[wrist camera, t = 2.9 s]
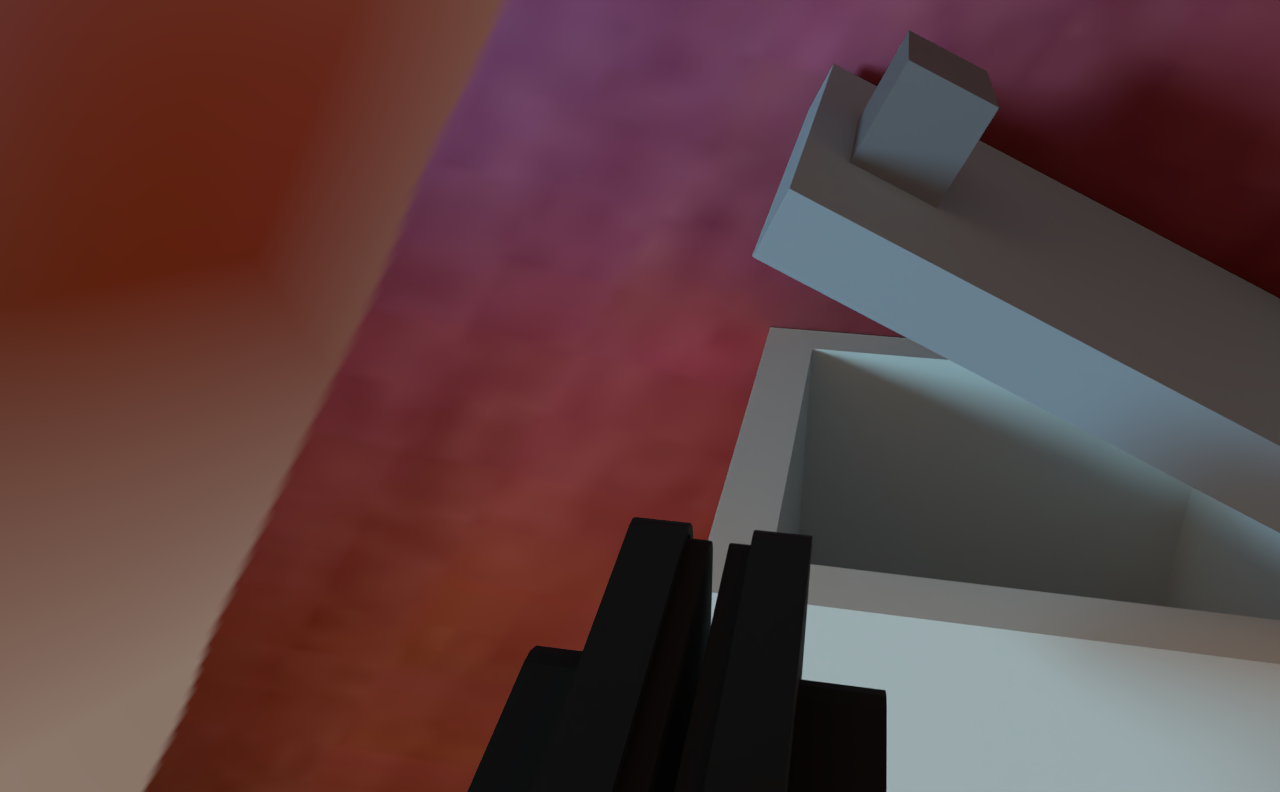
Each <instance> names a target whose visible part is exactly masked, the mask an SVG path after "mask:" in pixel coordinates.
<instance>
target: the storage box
mask: <svg viewBox="0 0 1280 792" xmlns="http://www.w3.org/2000/svg"><path fill="white" fill-rule="evenodd" d="M754 530H762V531H771V532H781V533H790V534H800V535H809V536H812V552H811V565H810V578H809V591H808V604H807V617H806V630H805V643H804V656H803V669H802V680H810V681H818V682H826V683H833V684H841V685H849V686H857V687H865V688H873V689H881V690H886V696H887V792H1280V533H1279V532H1277V531H1275V530H1273V529H1271V528H1269V527H1267V526H1265V525H1263V524H1262V523H1260V522H1258V521H1256V520H1254V519H1252V518H1250V517H1248V516H1246V515H1244V514H1242V513H1241V512H1239V511H1237V510H1235V509H1233V508H1231V507H1229V506H1227V505H1225V504H1223V503H1221V502H1220V501H1218V500H1216V499H1214V498H1212V497H1210V496H1208V495H1206V494H1204V493H1202V492H1200V491H1199V490H1197V489H1195V488H1193V487H1191V486H1189V485H1187V484H1185V483H1183V482H1181V481H1179V480H1178V479H1176V478H1174V477H1172V476H1170V475H1168V474H1166V473H1164V472H1162V471H1160V470H1158V469H1157V468H1155V467H1153V466H1151V465H1149V464H1147V463H1145V462H1143V461H1141V460H1139V459H1137V458H1136V457H1134V456H1132V455H1130V454H1128V453H1126V452H1124V451H1122V450H1120V449H1118V448H1116V447H1115V446H1113V445H1111V444H1109V443H1107V442H1105V441H1103V440H1101V439H1099V438H1097V437H1095V436H1094V435H1092V434H1090V433H1088V432H1086V431H1084V430H1082V429H1080V428H1078V427H1076V426H1074V425H1073V424H1071V423H1069V422H1067V421H1065V420H1063V419H1061V418H1059V417H1057V416H1055V415H1053V414H1052V413H1050V412H1048V411H1046V410H1044V409H1042V408H1040V407H1038V406H1036V405H1034V404H1032V403H1031V402H1029V401H1027V400H1025V399H1023V398H1021V397H1019V396H1017V395H1015V394H1013V393H1011V392H1010V391H1008V390H1006V389H1004V388H1002V387H1000V386H998V385H996V384H994V383H992V382H990V381H989V380H987V379H985V378H983V377H981V376H979V375H977V374H975V373H973V372H971V371H969V370H968V369H966V368H964V367H962V366H960V365H958V364H956V363H954V362H952V361H950V360H948V359H947V358H945V357H943V356H941V355H939V354H937V353H935V352H933V351H931V350H929V349H927V348H926V347H924V346H922V345H920V344H918V343H916V342H914V341H912V340H910V339H908V338H900V337H887V336H875V335H862V334H850V333H837V332H825V331H812V330H800V329H787V328H774V327H770V330H769V334H768V337H767V340H766V344H765V347H764V351H763V354H762V358H761V361H760V364H759V368H758V371H757V375H756V378H755V381H754V385H753V388H752V392H751V395H750V399H749V402H748V405H747V409H746V412H745V416H744V419H743V423H742V426H741V429H740V433H739V436H738V440H737V443H736V446H735V450H734V453H733V457H732V460H731V464H730V467H729V470H728V474H727V477H726V481H725V484H724V488H723V491H722V494H721V498H720V501H719V505H718V508H717V511H716V515H715V518H714V522H713V525H712V529H711V532H710V535H709V539H708V540H709V541H712V543H713V572H712V606H711V623H712V618H713V614H714V609H715V605H716V600H717V596H718V591H719V587H720V582H721V578H722V573H723V569H724V564H725V560H726V555H727V551H728V547H729V544H730V543H737V544H746V545H751V541H752V536H753V532H754Z"/></svg>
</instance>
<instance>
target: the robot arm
mask: <svg viewBox="0 0 1280 792" xmlns="http://www.w3.org/2000/svg"><path fill="white" fill-rule="evenodd" d="M811 552H812V536H809V535H800V534H790V533H781V532H771V531H762V530H754V532H753V536H752V541H751V545H746V544H737V543H730V544H729V547H728V551H727V555H726V560H725V564H724V569H723V573H722V578H721V582H720V587H719V591H718V596H717V600H716V605H715V609H714V614H713V618H712V623H711V606H712V572H713V543H712V541H709V540H699V539H693V529H692V525H691V523H685V522H676V521H666V520H656V519H647V518H637V517H635V518H633V519H632V521H631V523H630V525H629V528H628V531H627V533H626V536H625V539H624V541H623V544H622V547H621V549H620V552H619V555H618V558H617V560H616V563H615V566H614V568H613V571H612V574H611V576H610V579H609V582H608V585H607V587H606V590H605V593H604V595H603V598H602V601H601V603H600V606H599V609H598V612H597V614H596V617H595V620H594V622H593V625H592V628H591V631H590V633H589V636H588V639H587V641H586V644H585V647H584V649H583V652H582V651H574V650H566V649H558V648H551V647H543V646H535V647H534V648H533V649H532V650H530V652H529V654H528V656H527V658H526V659H525V661H524V663H523V666H522V668H521V670H520V673H519V675H518V677H517V679H516V682H515V684H514V686H513V689H512V691H511V693H510V696H509V698H508V700H507V702H506V705H505V707H504V709H503V712H502V714H501V716H500V718H499V721H498V723H497V725H496V728H495V730H494V732H493V735H492V737H491V739H490V741H489V744H488V746H487V748H486V751H485V753H484V755H483V758H482V760H481V762H480V764H479V767H478V769H477V771H476V774H475V776H474V778H473V781H472V783H471V785H470V787H469V790H468V792H887V696H886V690H881V689H873V688H865V687H857V686H849V685H841V684H833V683H826V682H818V681H810V680H802V669H803V656H804V643H805V630H806V617H807V604H808V591H809V578H810V565H811Z"/></svg>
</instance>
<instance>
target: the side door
mask: <svg viewBox="0 0 1280 792" xmlns="http://www.w3.org/2000/svg"><path fill="white" fill-rule="evenodd" d="M998 109H999V106H998V103H997V100H996V97H995V94H994V91H993V88H992V85H991V82H990V79H989V76H988V73H987V71H985V70H983V69H981V68H979V67H978V66H976V65H974V64H972V63H970V62H968V61H966V60H964V59H962V58H961V57H959V56H957V55H955V54H953V53H951V52H949V51H947V50H945V49H943V48H942V47H940V46H938V45H936V44H934V43H932V42H930V41H928V40H926V39H925V38H923V37H921V36H919V35H917V34H915V33H913V32H911V31H908V33H907V35H906V36H905V38H904V40H903V42H902V43H901V45H900V47H899V49H898V51H897V52H896V54H895V56H894V58H893V59H892V61H891V63H890V65H889V67H888V68H887V70H886V72H885V74H884V75H883V77H882V79H881V81H880V82H879V84H878V86H875V85H873V84H872V83H870V82H868V81H866V80H864V79H862V78H860V77H858V76H856V75H854V74H853V73H851V72H849V71H847V70H845V69H843V68H841V67H839V66H837V65H835V64H833V66H832V68H831V70H830V71H829V73H828V75H827V77H826V79H825V81H824V83H823V84H822V86H821V88H820V90H819V92H818V94H817V96H816V97H815V99H814V101H813V103H812V105H811V107H810V109H809V111H808V113H807V116H806V118H805V121H804V124H803V126H802V129H801V131H800V134H799V136H798V139H797V142H796V144H795V147H794V149H793V152H792V155H791V157H790V160H789V162H788V165H787V167H786V170H785V173H784V175H783V178H782V180H781V183H780V186H779V188H778V191H777V193H776V196H775V198H774V201H773V204H772V206H771V209H770V211H769V214H768V217H767V219H766V222H765V224H764V227H763V229H762V232H761V235H760V237H759V240H758V242H757V245H756V248H755V250H754V253H753V255H752V257H754V258H756V259H758V260H759V261H761V262H763V263H765V264H767V265H769V266H771V267H773V268H775V269H777V270H779V271H780V272H782V273H784V274H786V275H788V276H790V277H792V278H794V279H796V280H798V281H800V282H801V283H803V284H805V285H807V286H809V287H811V288H813V289H815V290H817V291H819V292H821V293H822V294H824V295H826V296H828V297H830V298H832V299H834V300H836V301H838V302H840V303H842V304H843V305H845V306H847V307H849V308H851V309H853V310H855V311H857V312H859V313H861V314H863V315H864V316H866V317H868V318H870V319H872V320H874V321H876V322H878V323H880V324H882V325H884V326H885V327H887V328H889V329H891V330H893V331H895V332H897V333H899V334H901V335H903V336H905V337H906V338H908V339H910V340H912V341H914V342H916V343H918V344H920V345H922V346H924V347H926V348H927V349H929V350H931V351H933V352H935V353H937V354H939V355H941V356H943V357H945V358H947V359H948V360H950V361H952V362H954V363H956V364H958V365H960V366H962V367H964V368H966V369H968V370H969V371H971V372H973V373H975V374H977V375H979V376H981V377H983V378H985V379H987V380H989V381H990V382H992V383H994V384H996V385H998V386H1000V387H1002V388H1004V389H1006V390H1008V391H1010V392H1011V393H1013V394H1015V395H1017V396H1019V397H1021V398H1023V399H1025V400H1027V401H1029V402H1031V403H1032V404H1034V405H1036V406H1038V407H1040V408H1042V409H1044V410H1046V411H1048V412H1050V413H1052V414H1053V415H1055V416H1057V417H1059V418H1061V419H1063V420H1065V421H1067V422H1069V423H1071V424H1073V425H1074V426H1076V427H1078V428H1080V429H1082V430H1084V431H1086V432H1088V433H1090V434H1092V435H1094V436H1095V437H1097V438H1099V439H1101V440H1103V441H1105V442H1107V443H1109V444H1111V445H1113V446H1115V447H1116V448H1118V449H1120V450H1122V451H1124V452H1126V453H1128V454H1130V455H1132V456H1134V457H1136V458H1137V459H1139V460H1141V461H1143V462H1145V463H1147V464H1149V465H1151V466H1153V467H1155V468H1157V469H1158V470H1160V471H1162V472H1164V473H1166V474H1168V475H1170V476H1172V477H1174V478H1176V479H1178V480H1179V481H1181V482H1183V483H1185V484H1187V485H1189V486H1191V487H1193V488H1195V489H1197V490H1199V491H1200V492H1202V493H1204V494H1206V495H1208V496H1210V497H1212V498H1214V499H1216V500H1218V501H1220V502H1221V503H1223V504H1225V505H1227V506H1229V507H1231V508H1233V509H1235V510H1237V511H1239V512H1241V513H1242V514H1244V515H1246V516H1248V517H1250V518H1252V519H1254V520H1256V521H1258V522H1260V523H1262V524H1263V525H1265V526H1267V527H1269V528H1271V529H1273V530H1275V531H1277V532H1279V533H1280V298H1278V297H1276V296H1274V295H1272V294H1270V293H1268V292H1266V291H1264V290H1263V289H1261V288H1259V287H1257V286H1255V285H1253V284H1251V283H1249V282H1247V281H1245V280H1244V279H1242V278H1240V277H1238V276H1236V275H1234V274H1232V273H1230V272H1228V271H1226V270H1225V269H1223V268H1221V267H1219V266H1217V265H1215V264H1213V263H1211V262H1209V261H1207V260H1206V259H1204V258H1202V257H1200V256H1198V255H1196V254H1194V253H1192V252H1190V251H1188V250H1187V249H1185V248H1183V247H1181V246H1179V245H1177V244H1175V243H1173V242H1171V241H1170V240H1168V239H1166V238H1164V237H1162V236H1160V235H1158V234H1156V233H1154V232H1152V231H1151V230H1149V229H1147V228H1145V227H1143V226H1141V225H1139V224H1137V223H1135V222H1133V221H1132V220H1130V219H1128V218H1126V217H1124V216H1122V215H1120V214H1118V213H1116V212H1114V211H1113V210H1111V209H1109V208H1107V207H1105V206H1103V205H1101V204H1099V203H1097V202H1095V201H1094V200H1092V199H1090V198H1088V197H1086V196H1084V195H1082V194H1080V193H1078V192H1076V191H1075V190H1073V189H1071V188H1069V187H1067V186H1065V185H1063V184H1061V183H1059V182H1058V181H1056V180H1054V179H1052V178H1050V177H1048V176H1046V175H1044V174H1042V173H1040V172H1039V171H1037V170H1035V169H1033V168H1031V167H1029V166H1027V165H1025V164H1023V163H1021V162H1020V161H1018V160H1016V159H1014V158H1012V157H1010V156H1008V155H1006V154H1004V153H1002V152H1001V151H999V150H997V149H995V148H993V147H991V146H989V145H987V144H985V143H983V142H982V141H980V140H979V139H980V137H981V136H982V134H983V133H984V131H985V130H986V128H987V126H988V125H989V123H990V122H991V120H992V118H993V117H994V115H995V114H996V112H997V110H998Z"/></svg>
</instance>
